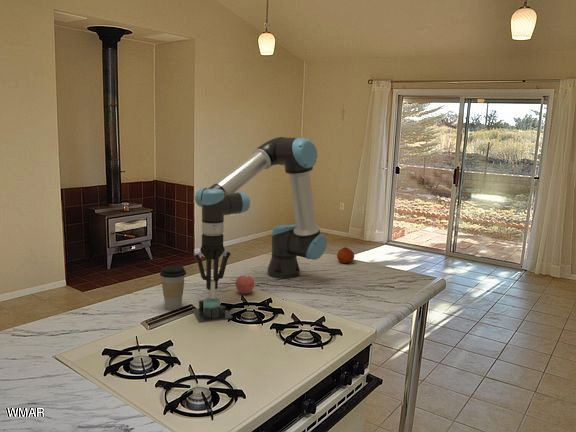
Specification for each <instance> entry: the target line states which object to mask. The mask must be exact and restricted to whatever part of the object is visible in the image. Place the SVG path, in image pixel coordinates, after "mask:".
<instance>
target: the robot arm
mask: <svg viewBox="0 0 576 432" xmlns="http://www.w3.org/2000/svg"><path fill="white" fill-rule="evenodd" d="M317 159H318V150H317V147H316V145H315V143H314V142H313V141H311V139H308V138H303V137H289V136H288V137H287V136H286V137H285V136H278V137H274V138H272V139H269V140H267V141H265V142H264V143H263V144H260V145H259V146H258V147H257V148H255V149H254V150H253V151H252V154H251V155H250V156H249V157H247V158H246V159H245V160H243V161H242V162H241V163H240V164H238V165H237V166H235V168H233V169H232V170H230V171H229V172H228V173H226V174H225V175H224V176H223V177H221V178H219V180H217V181H216V182H215V183H213V184H212V185H211V186H209V187H208V188H207V187H201V188H199V189H198V190H197V191H196V192H195V195H194V201H195V203H196V205H197V206H198V207H199V208H201V233H202V234H201V246H200V249H199V251H197V252H194V254H193V256H194V258H195V259H196V261H197V266H198V269H199V274H200V277H201V279H202V280H203V281H206V282H205V283H206V286H205V287H206V290H208V297H210V299H215V297H216V289H218V288H219V286H218V285H219V280H220V279H223V278H224V276H225V275H224V274H225V271H226V266H227V263H228V259H229V258H230V256H231V252H230V251H229V250H226V249H225V247H224V234H223V233H224V222H225V221H224V219H225V216H230V215H237V214H242V213H245V212H248V210H249V209H250V206H251V200H250V197H249V195H248V194H247V193H245V192H238V190H240V189H241V188H242V187H243V186H244V185H245V184H247V183H248V182H250V181H251V180H252V179H253V178H255V177H256V176H257V175H258V174H260V173H261V172H262V171H264V170H269V168H272V166H278V165H280V166H284V172H285V173H286V174H287V176H289V182H290V189H291V196H292V204H293V211H294V219H295V220H294V221H295V224H280V225H276V226H274V227H273V228H272V234H271V257H270V260H269V264H268V266H267V272H266V273H267V275H268V276H270V277H272V278H276V279H277V278H278V279H293V278H294V279H295V278H298V277H299V276H300V273H301V272H300V271H301V270H300V265H299V262H298V258H297V257H301V258H305V259H307V260H315V261H316V260H318V259H320V258H321V257H322V256H323V255H324V254H325V251H326V249H327V244H328V243H327V242H328V240H327V237H326V235H324V234H322V233H321V229H320V226H319V225H318V224H317V223H316V215H315V214H316V213H315V206H314V199H313V197H314V196H313V188H312V181H311V172H312V171H313V170H314V166H315V165H316V164H317ZM202 255H203V256H202ZM221 256H222V258H221ZM202 257H204V258H205V262H206V265H205V266H206V267H205V268H204V265H203V259H202ZM220 258H221V262H220ZM212 261H213V263H212ZM219 263H220V266H219ZM212 265H213V273H212ZM212 275H213V276H212ZM212 277H213V278H212Z"/></svg>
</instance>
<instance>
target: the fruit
mask: <svg viewBox="0 0 576 432" xmlns="http://www.w3.org/2000/svg"><path fill="white" fill-rule="evenodd" d="M336 258H337V261H339V262H340V263H341V264H350V263H352V262H353V261H354V259H355V253H354V251H352V249H350V248H348V247H342V248H339V250H338V252H337V254H336Z"/></svg>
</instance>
